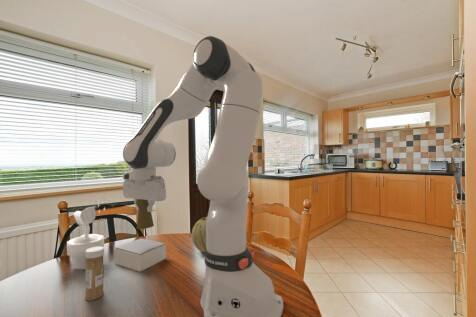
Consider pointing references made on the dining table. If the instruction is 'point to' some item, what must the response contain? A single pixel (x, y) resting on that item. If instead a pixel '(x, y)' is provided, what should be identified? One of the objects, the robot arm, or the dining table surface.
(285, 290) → the dining table surface
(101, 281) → the sprinkles bottle
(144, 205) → the brown tapered cylinder
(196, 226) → the cantaloupe
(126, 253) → the white lidded box
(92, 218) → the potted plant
